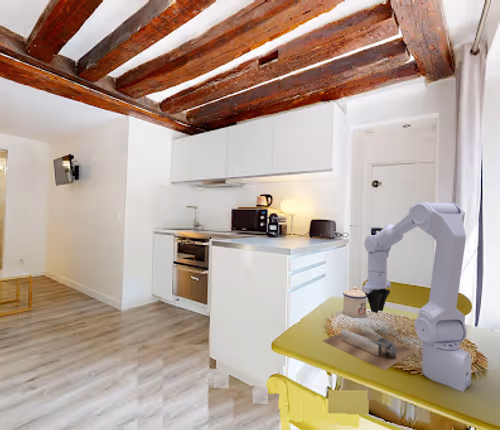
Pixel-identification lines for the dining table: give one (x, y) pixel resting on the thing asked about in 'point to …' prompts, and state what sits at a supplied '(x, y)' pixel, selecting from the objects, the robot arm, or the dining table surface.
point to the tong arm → (372, 335)
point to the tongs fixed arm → (365, 342)
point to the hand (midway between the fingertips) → (376, 311)
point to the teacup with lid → (354, 303)
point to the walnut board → (369, 357)
